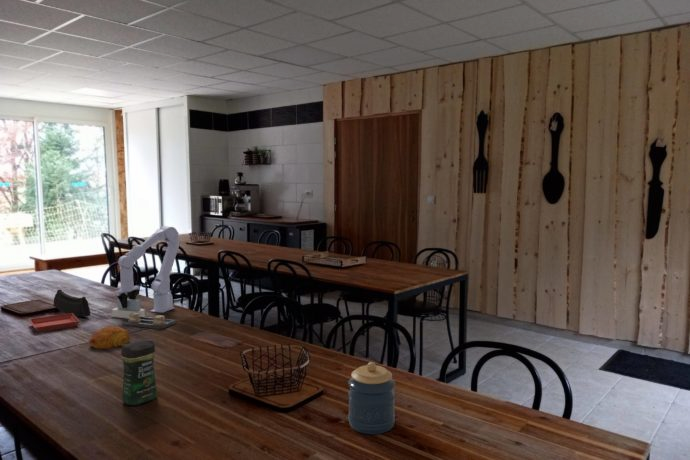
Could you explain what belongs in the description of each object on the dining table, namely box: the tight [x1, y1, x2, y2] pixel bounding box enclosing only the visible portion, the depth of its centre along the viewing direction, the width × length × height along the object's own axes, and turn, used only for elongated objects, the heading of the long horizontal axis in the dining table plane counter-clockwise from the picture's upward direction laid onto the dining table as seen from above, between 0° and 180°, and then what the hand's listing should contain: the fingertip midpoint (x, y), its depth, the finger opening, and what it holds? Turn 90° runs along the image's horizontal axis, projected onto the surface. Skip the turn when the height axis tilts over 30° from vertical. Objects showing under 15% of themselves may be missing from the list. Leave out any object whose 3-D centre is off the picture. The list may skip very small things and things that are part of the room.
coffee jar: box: [120, 338, 158, 406], centre depth 152 cm, size 10×8×19 cm
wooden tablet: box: [189, 331, 244, 349], centre depth 210 cm, size 26×2×10 cm
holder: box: [110, 307, 147, 320], centre depth 246 cm, size 6×16×4 cm, turn 71°
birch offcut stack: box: [127, 313, 140, 323], centre depth 233 cm, size 4×4×5 cm
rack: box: [122, 316, 176, 330], centre depth 233 cm, size 10×22×2 cm, turn 71°
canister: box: [347, 361, 396, 435], centre depth 137 cm, size 13×13×18 cm
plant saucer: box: [29, 313, 80, 333], centre depth 231 cm, size 18×18×3 cm
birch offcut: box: [153, 314, 166, 323], centre depth 229 cm, size 3×3×2 cm
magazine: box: [53, 289, 92, 318], centre depth 250 cm, size 17×3×30 cm
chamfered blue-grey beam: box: [116, 298, 141, 311], centre depth 245 cm, size 2×12×8 cm, turn 71°
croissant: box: [88, 325, 131, 350], centre depth 205 cm, size 14×16×8 cm
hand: (128, 306), depth 246 cm, fingers open, 4 cm apart
